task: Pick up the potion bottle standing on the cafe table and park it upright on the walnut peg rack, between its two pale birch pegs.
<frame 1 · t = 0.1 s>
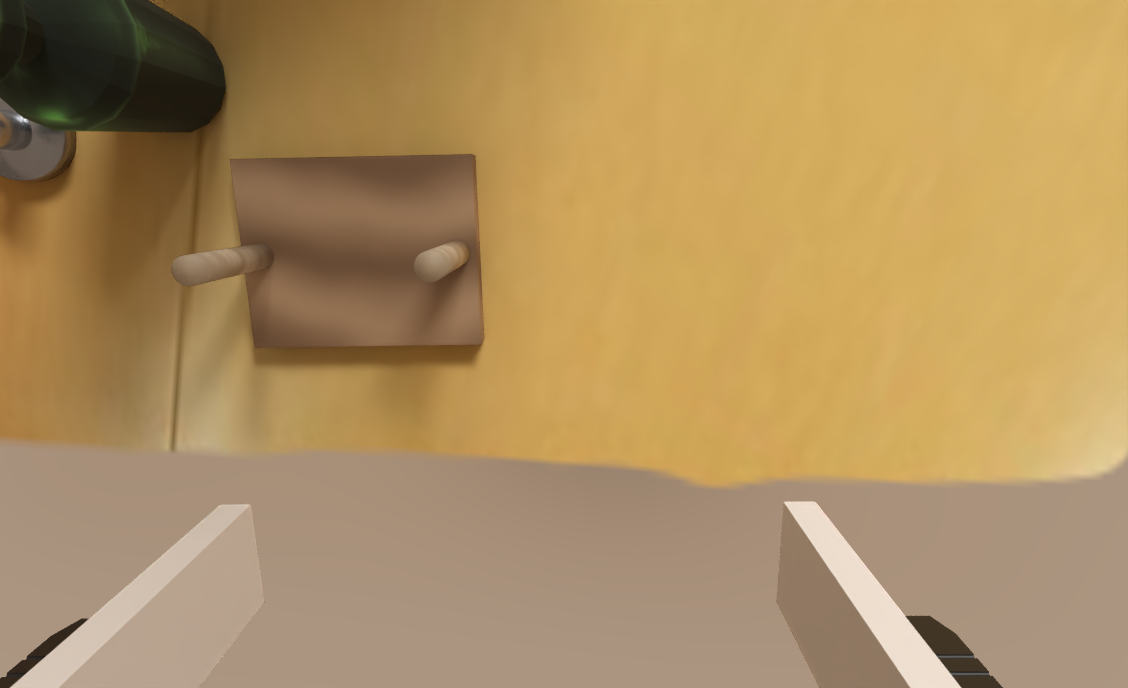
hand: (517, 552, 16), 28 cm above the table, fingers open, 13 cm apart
potion bottle: (178, 79, 40), on the table
ring nut stud: (28, 132, 41), on the table
rack: (366, 252, 42), on the table
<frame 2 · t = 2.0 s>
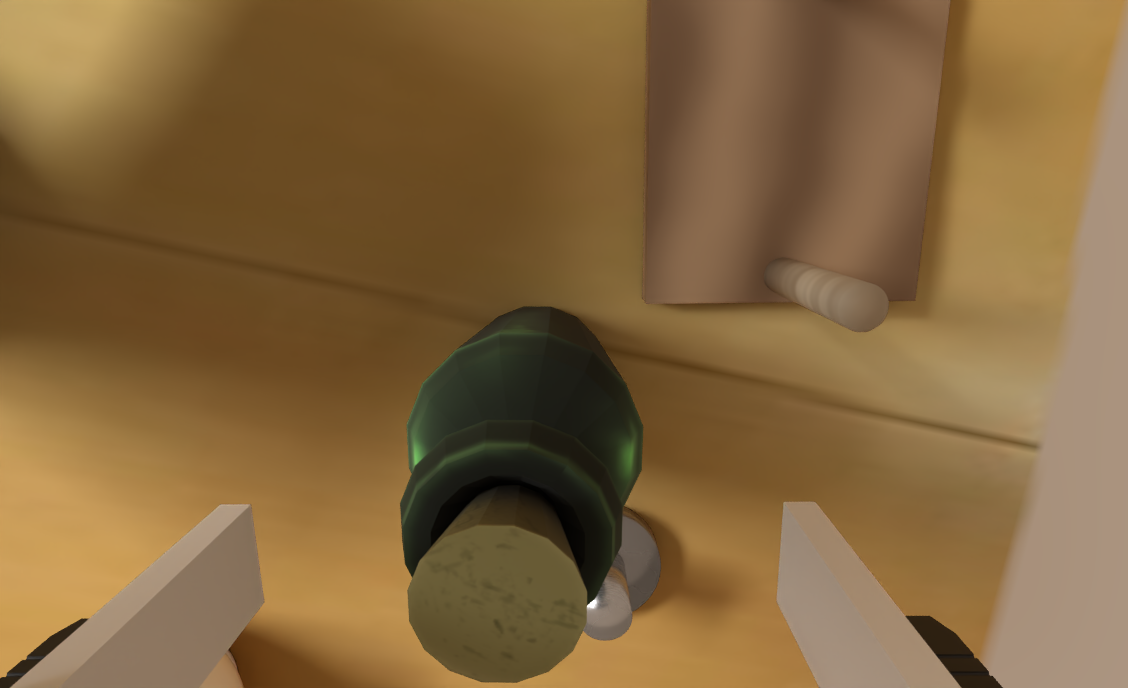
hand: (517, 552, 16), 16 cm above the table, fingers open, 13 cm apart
potion bottle: (538, 369, 31), on the table
ring nut stud: (599, 554, 33), on the table
rack: (780, 129, 28), on the table
lidded jar: (185, 668, 35), on the table
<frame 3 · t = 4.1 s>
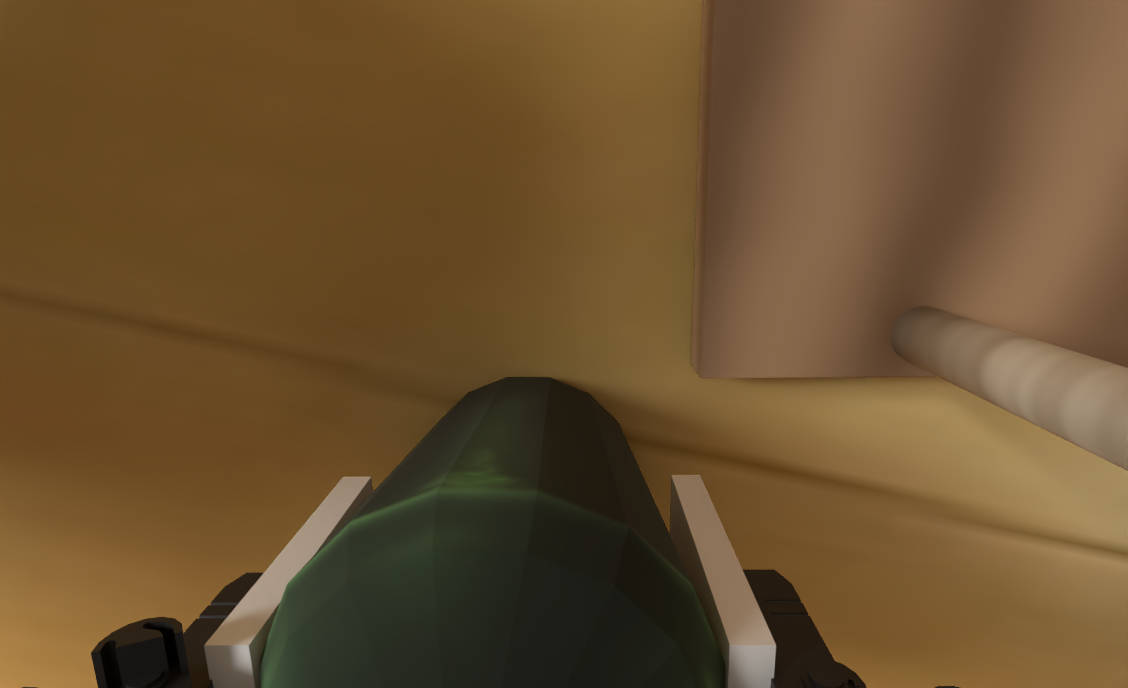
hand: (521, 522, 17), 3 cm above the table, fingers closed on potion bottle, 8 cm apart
potion bottle: (530, 468, 20), on the table, touching gripper
rack: (917, 100, 18), on the table
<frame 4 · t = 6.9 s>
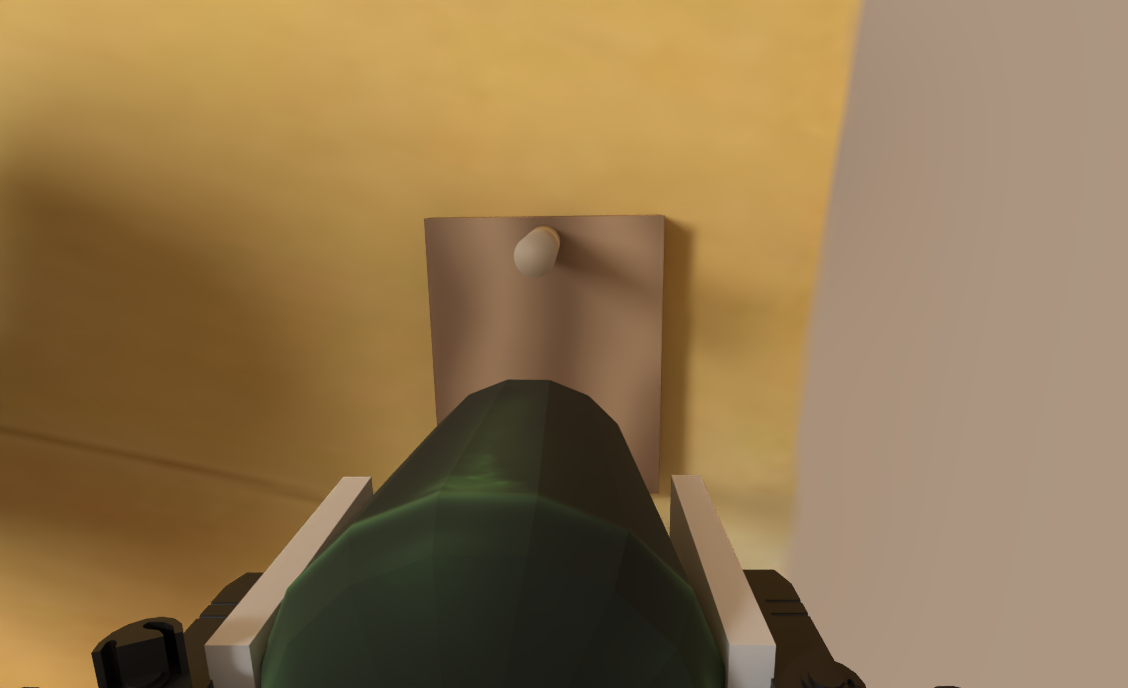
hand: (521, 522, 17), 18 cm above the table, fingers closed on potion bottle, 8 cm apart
potion bottle: (530, 470, 20), point 15 cm above the table, touching gripper
rack: (548, 355, 35), on the table
when the fingers open (6 cm above the table, at t = 9.8 s): potion bottle drops 1 cm, resting on rack.
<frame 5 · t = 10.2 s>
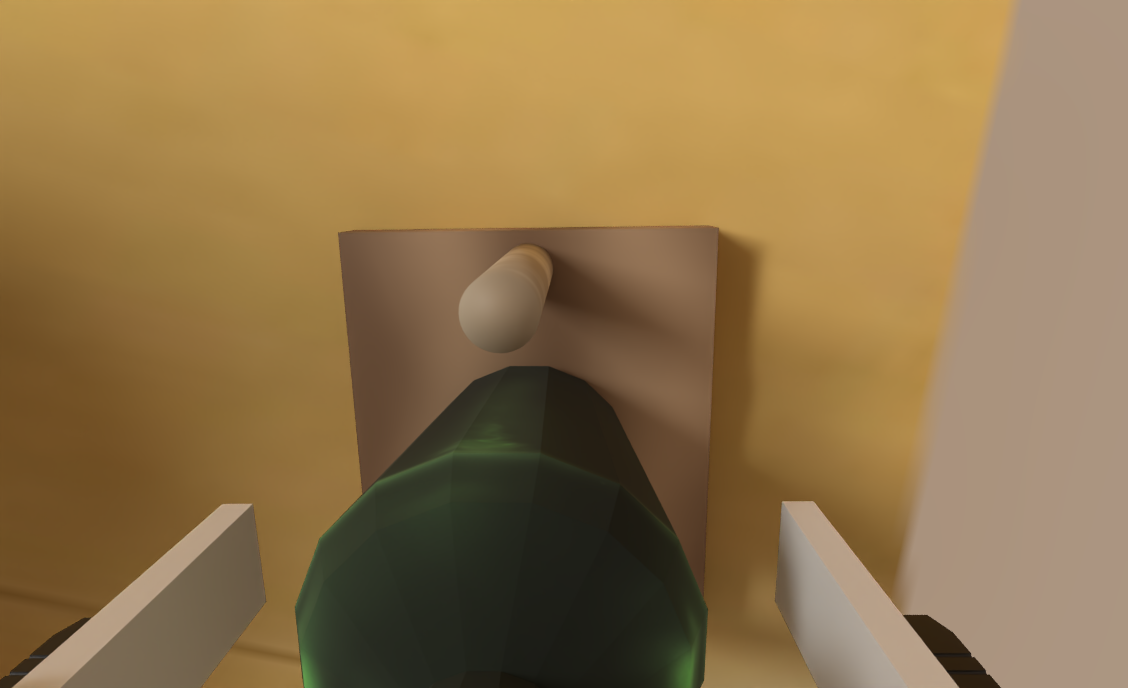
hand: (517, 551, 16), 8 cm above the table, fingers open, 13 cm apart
potion bottle: (531, 452, 22), point 1 cm above the table, touching rack
rack: (535, 436, 23), on the table
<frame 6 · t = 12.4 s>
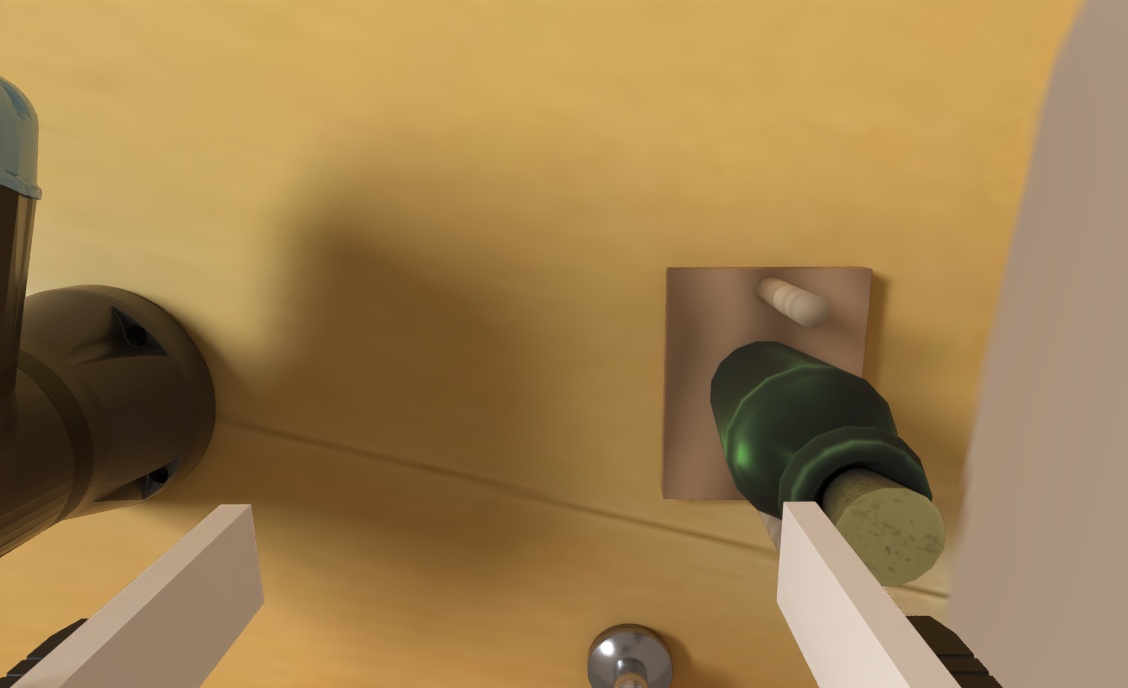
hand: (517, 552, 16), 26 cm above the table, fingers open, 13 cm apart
potion bottle: (760, 389, 40), point 1 cm above the table, touching rack
ring nut stud: (629, 660, 46), on the table
rack: (756, 383, 41), on the table
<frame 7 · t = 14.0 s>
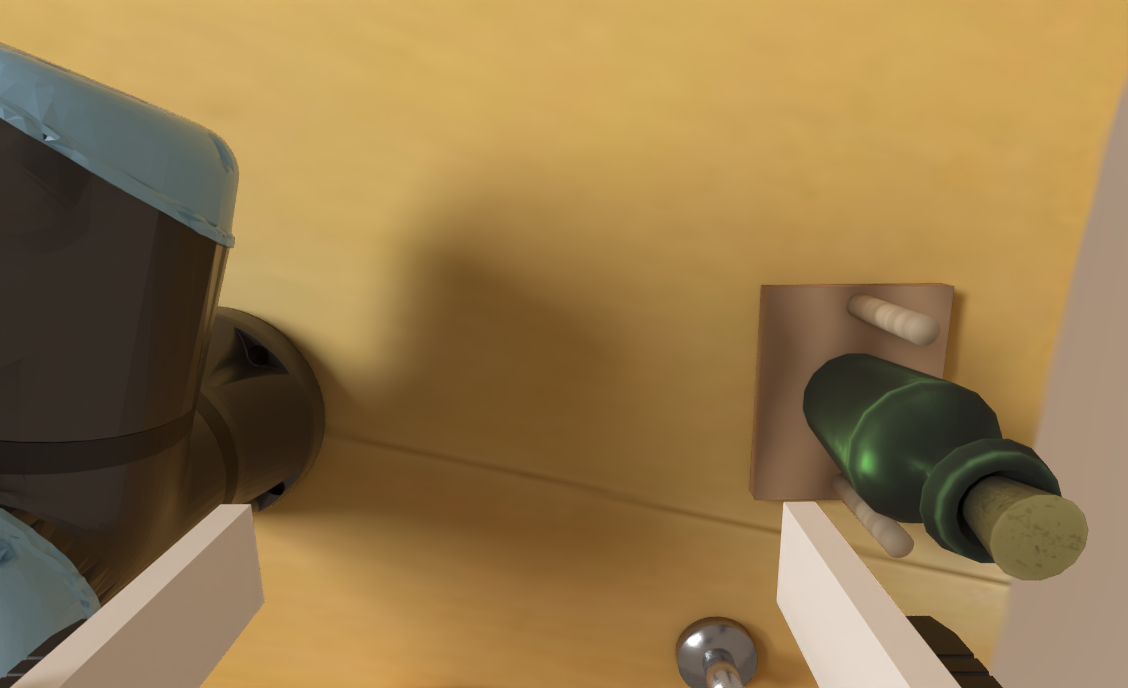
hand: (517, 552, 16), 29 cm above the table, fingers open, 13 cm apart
potion bottle: (848, 397, 43), point 1 cm above the table, touching rack
ring nut stud: (714, 650, 49), on the table
rack: (841, 391, 44), on the table
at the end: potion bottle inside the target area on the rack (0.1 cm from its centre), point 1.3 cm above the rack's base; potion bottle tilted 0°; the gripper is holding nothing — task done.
